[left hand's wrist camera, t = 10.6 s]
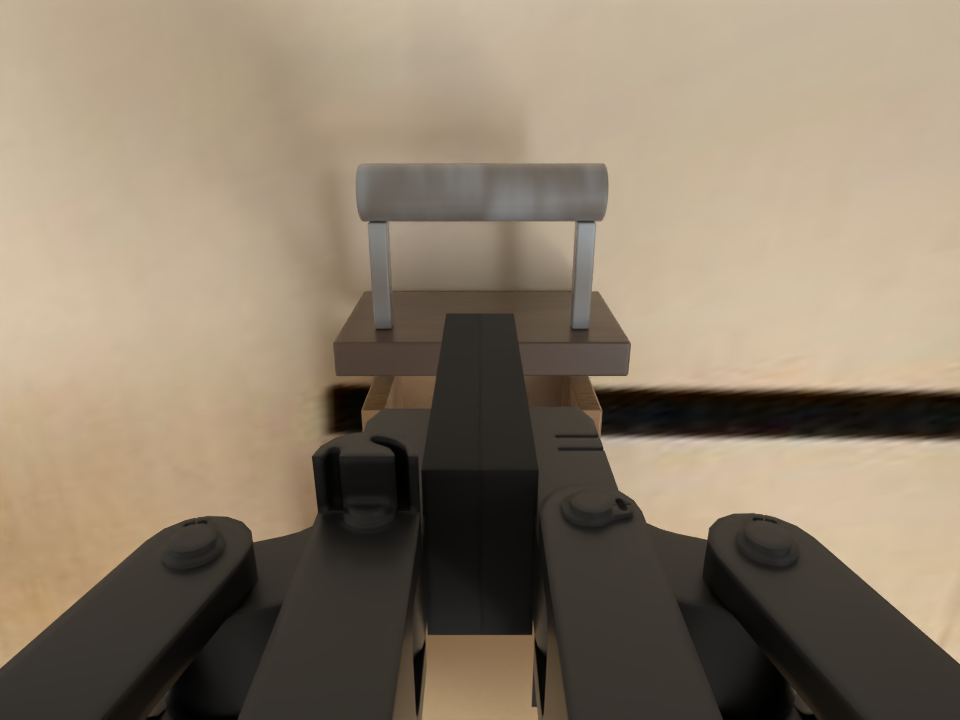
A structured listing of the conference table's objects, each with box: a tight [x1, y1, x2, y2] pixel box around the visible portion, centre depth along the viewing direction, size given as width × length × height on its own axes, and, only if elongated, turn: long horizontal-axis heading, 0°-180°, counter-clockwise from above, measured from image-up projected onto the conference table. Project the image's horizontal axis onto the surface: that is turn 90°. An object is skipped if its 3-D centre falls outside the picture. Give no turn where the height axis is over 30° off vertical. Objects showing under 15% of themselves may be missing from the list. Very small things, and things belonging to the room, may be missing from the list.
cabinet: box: [422, 626, 538, 720], centre depth 31 cm, size 20×11×8 cm, turn 0°
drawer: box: [333, 164, 631, 438], centre depth 26 cm, size 25×10×6 cm, turn 0°
